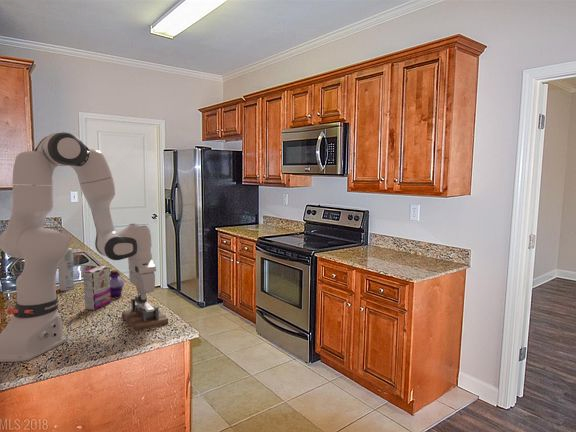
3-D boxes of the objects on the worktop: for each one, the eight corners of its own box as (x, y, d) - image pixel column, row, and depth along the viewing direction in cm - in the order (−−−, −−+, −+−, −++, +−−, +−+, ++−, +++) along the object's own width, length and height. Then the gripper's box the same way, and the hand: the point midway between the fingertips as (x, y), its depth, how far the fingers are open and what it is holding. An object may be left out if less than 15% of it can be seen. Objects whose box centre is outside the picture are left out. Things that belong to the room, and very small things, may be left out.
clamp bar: (154, 310, 147) (154, 307, 147) (146, 312, 145) (146, 308, 145) (142, 299, 158) (142, 296, 158) (134, 300, 156) (134, 297, 156)
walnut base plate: (168, 323, 149) (168, 318, 148) (136, 330, 141) (135, 325, 141) (152, 310, 163) (152, 305, 162) (122, 316, 155) (122, 311, 155)
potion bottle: (100, 297, 179) (99, 271, 178) (114, 292, 187) (113, 267, 186) (115, 299, 176) (114, 273, 175) (129, 294, 184) (128, 269, 183)
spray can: (68, 290, 188) (66, 250, 186) (56, 290, 189) (54, 250, 187) (77, 287, 195) (75, 247, 193) (64, 286, 195) (62, 247, 193)
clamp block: (158, 319, 147) (158, 306, 147) (143, 322, 144) (143, 309, 143) (145, 308, 160) (145, 296, 159) (131, 310, 156) (130, 298, 156)
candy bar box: (101, 301, 174) (100, 265, 172) (111, 302, 173) (110, 266, 171) (84, 309, 163) (82, 271, 161) (94, 310, 162) (93, 272, 160)
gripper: (124, 260, 159) (126, 293, 161) (140, 270, 144) (142, 306, 145) (140, 258, 163) (141, 290, 165) (157, 268, 147) (158, 303, 149)
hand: (142, 298), depth 155 cm, fingers closed, pressing on clamp bar
